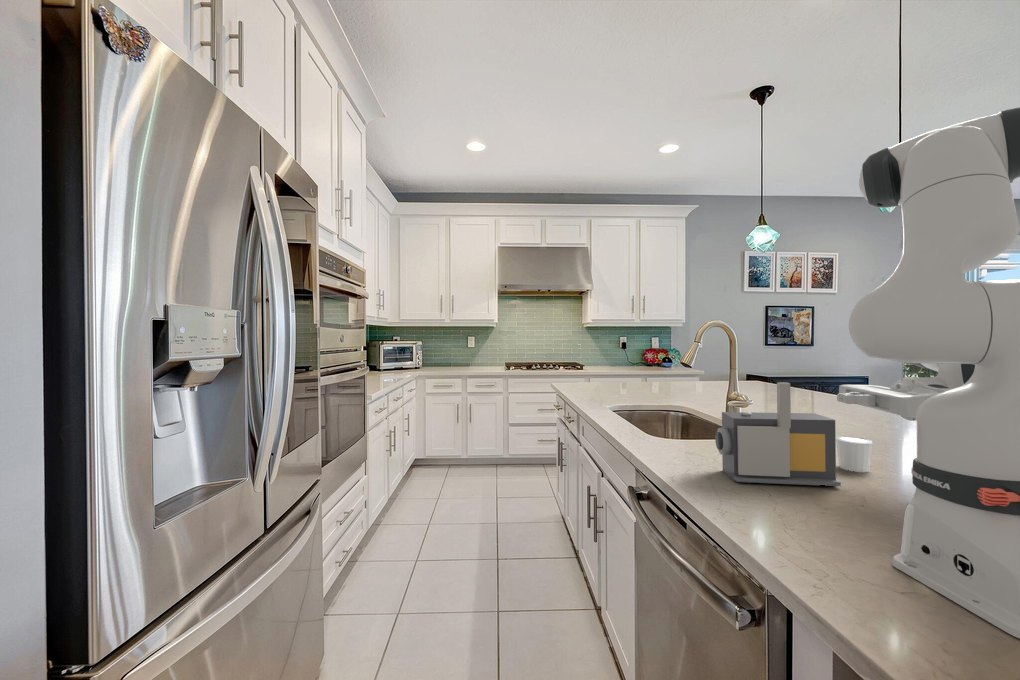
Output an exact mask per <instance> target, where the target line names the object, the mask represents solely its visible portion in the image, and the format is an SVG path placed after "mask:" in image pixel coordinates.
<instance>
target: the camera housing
mask: <svg viewBox="0 0 1020 680" xmlns="http://www.w3.org/2000/svg"><path fill="white" fill-rule="evenodd" d="M737 426H774V427H777V412H757V411H756V412H751V411H750V412H749V411H722V412H721V427H718V428H717V430H716V433H715V435H714V438H715V441H714V442H715V446H716V449H717V450H718V453H719V454H720V455H721V456H722V458H721V459H722V462H721V463H722V471H723V473H725V475H727V476H728V477H729V478H730V479H731V481H733V482H734V483H755V484H776V485H777V484H780V485H796V486H797V485H799V486H800V485H801V486H805V485H806V486H820V485H825V486H826V487H841V486H842V485H841V484H842V483H841V481H839V480H838V479H837V463H836V462H837V459H836V457H837V455H836V452H837V451H836V450H837V449H836V448H837V442H836V419H833V418H830V417H827V416H824V415H821V414H819V413H815V412H813V413H811V412H810V413H809V412H808V413H807V412H803V413H801V412H791V428H789V432H790V477H781V476H756V475H739V474H738V436H737ZM825 486H824V487H825Z"/></svg>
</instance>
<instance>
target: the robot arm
mask: <svg viewBox="0 0 1020 680" xmlns="http://www.w3.org/2000/svg"><path fill="white" fill-rule="evenodd" d="M1017 178H1020V106H1018V107H1014V108H1013V107H1012V108H1008V109H1002V110H999V112H998V113H996V114H992V115H986V116H983V117H978V118H974V119H971V120H967V121H963V122H959V123H955V124H953V125H949V126H946V127H943V128H937V129H934V130H931V131H927V132H926V133H922V134H920V135H917V136H914V137H913V138H909V139H907V140H904V141H903V142H900V143H898V144H895V145H893V146H892V147H890V146H886V147H884V148H882V149H880V150H877V151H876V152H874V153H872V154H870V155H869V156H868V157H867V158H866V160H865V161H864V162H863V163H862V166H861V170H860V173H859V178H858V186H859V191H860V193H861V194H862V196H863V198H864V199H865V200H866V201H867V202H868V204H869V205H871V206H873V207H875V208H878V209H879V208H880V209H881V208H885V209H887V208H896V207H899V206H900V207H901V218H902V227H903V228H902V230H903V245H902V246H903V248H902V256H901V258H900V261H899V263H898V265H897V267H896V268H895V270H894V271H893V272H892V274H890V276H889V277H887V279H886V280H885V281H884V282H883V283H882V284H881V285H879V286H877V287H876V288H875V289H873V290H872V291H869V292H868V293H866V294H864V296H863V297H861V299H860V300H858V302H857V303H856V304H855V306H854V307H853V309H852V311H851V312H850V316H849V320H848V330H849V334H850V337H851V338H850V339H852V342H853V343H854V345H855V346H856V347H857V349H858V350H860V352H861V353H863V354H864V355H866V357H870V358H874V359H878V360H879V359H880V360H887V361H892V362H893V361H894V362H898V363H899V362H900V363H905V364H912V365H914V366H916V367H919V368H922V369H924V370H925V369H926V370H930V371H935V372H937V375H936V376H930V377H929V376H928V377H926V376H923V377H922V376H921V377H919V376H918V377H917V376H914V377H911V376H909V377H907V376H906V377H902V378H900V379H898V380H897V382H895V383H894V384H892V385H891V386H890V387H888V386H882V385H875V384H874V385H873V384H841V385H839V387H838V393H837V395H836V399H837V402H839V403H842V404H847V405H857V406H862V407H867V408H871V409H874V410H878V411H883V412H886V413H889V414H893V415H898V416H900V417H902V419H905V420H906V421H910V422H916V457H915V458H914V459H913V460H912V467H911V472H910V473H911V475H912V484H913V486H914V487H915V491H914V494H913V496H912V498H911V500H910V501H909V503H907V504H906V507H905V511H904V519H903V526H902V535H901V536H902V537H901V544H900V545H901V546H900V551H899V553H897V554H895V555H893V557H892V562H891V563H892V566H893V567H894V568H895V569H897V570H899V571H901V572H902V573H904V574H906V575H908V576H909V577H912V579H914V580H916V581H918V582H920V583H922V584H923V585H925V586H926V587H929V588H930V589H931V590H933V591H935V592H937V593H938V594H941V595H942V596H944V597H945V598H948V599H949V600H951V601H952V602H954V603H956V604H958V605H959V606H961V607H962V608H964V609H966V610H968V611H970V613H973V614H975V615H976V616H978V617H980V618H981V619H983V620H984V621H987V622H988V623H990V624H991V625H993V626H995V627H997V628H998V629H1000V630H1002V631H1004V632H1005V633H1007V634H1009V635H1011V636H1013V637H1014V638H1017V639H1019V640H1020V279H1019V278H1018V279H1005V280H1004V279H1003V280H1002V279H1001V280H983V281H974V280H973V281H972V280H967V279H966V278H965V275H964V274H966V273H969V272H972V271H973V270H976V269H978V268H980V267H982V266H984V265H985V264H986V263H988V262H989V261H991V260H992V259H995V258H996V257H997V256H1000V255H1001V254H1003V253H1005V251H1007V250H1008V249H1009V248H1011V246H1012V245H1013V244H1014V242H1015V241H1016V240H1017V238H1018V234H1019V232H1020V223H1019V218H1018V213H1017V209H1016V208H1017V207H1016V203H1015V199H1014V194H1013V190H1012V185H1011V184H1012V183H1013V182H1014V181H1015V180H1016V179H1017Z"/></svg>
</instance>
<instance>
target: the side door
mask: <svg viewBox="0 0 1020 680" xmlns="http://www.w3.org/2000/svg"><path fill="white" fill-rule="evenodd" d="M776 404H777V405H776V411H777V412H776V413H777V427H774V426H737V436H738V474H739V475H756V476H781V477H790V432H789V428H791V413H792V412H791V409H792V408H791V404H792V403H791V383H790V382H776Z"/></svg>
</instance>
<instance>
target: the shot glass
mask: <svg viewBox="0 0 1020 680" xmlns="http://www.w3.org/2000/svg"><path fill="white" fill-rule="evenodd" d="M835 438H836V448H837V449H836V450H837V451H836V452H837V458H838V466H839V468H840V469H842V470H845V471H848V470H849V471H848V472H853V471H854V473H869V472H870V470H871V469H870V468H871V461H872V450H873V440H871V439H867V438H863V437H855V436H835Z"/></svg>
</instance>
